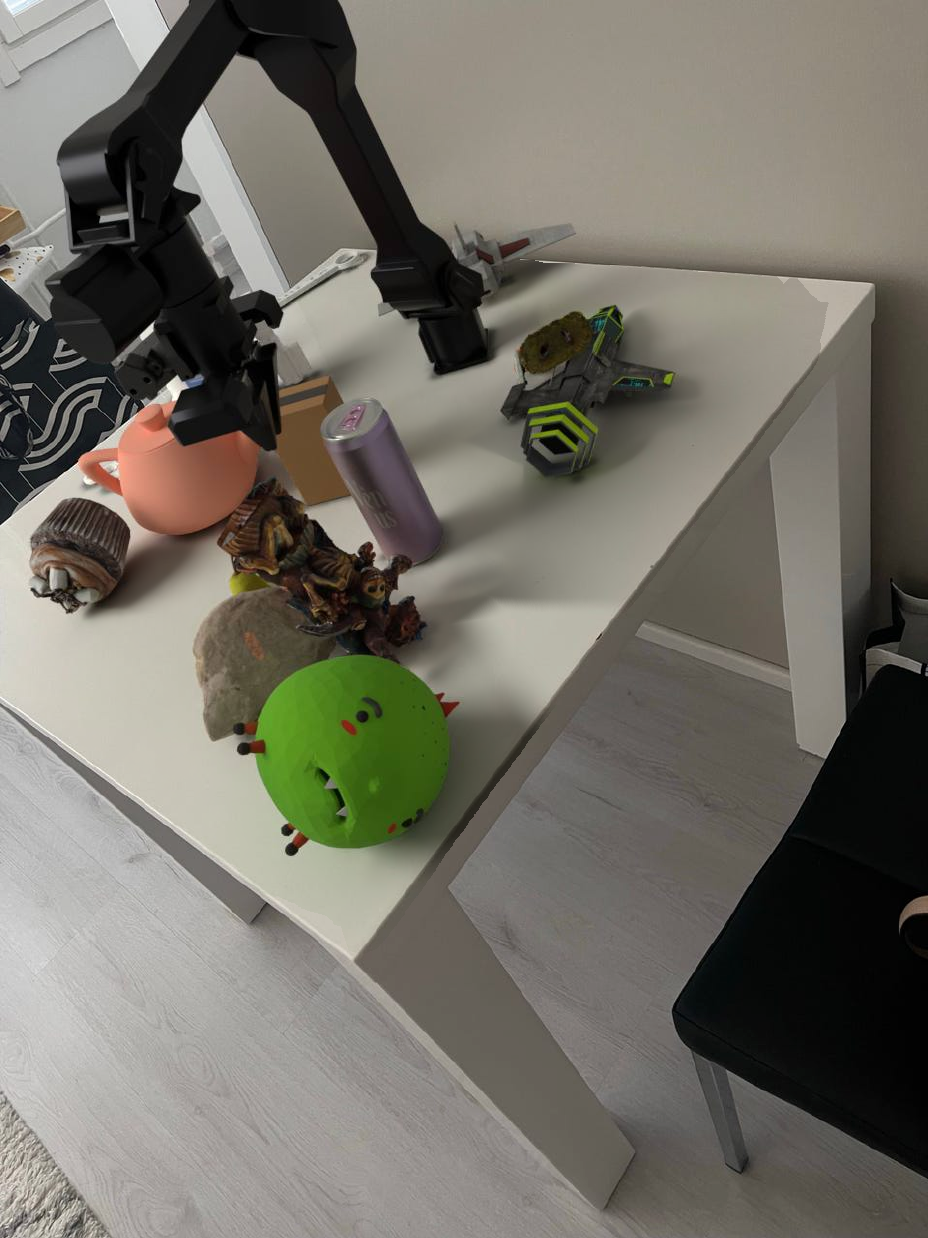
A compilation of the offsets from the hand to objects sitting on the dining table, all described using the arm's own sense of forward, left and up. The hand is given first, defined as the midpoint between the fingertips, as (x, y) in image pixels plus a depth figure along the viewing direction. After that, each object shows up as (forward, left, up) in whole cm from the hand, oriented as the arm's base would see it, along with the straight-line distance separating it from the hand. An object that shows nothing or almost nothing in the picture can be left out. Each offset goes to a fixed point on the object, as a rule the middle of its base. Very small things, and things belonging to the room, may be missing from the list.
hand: (274, 441), depth 87 cm
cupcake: (+26, -5, -6) cm, 27 cm away
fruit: (+2, +14, -12) cm, 19 cm away
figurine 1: (-3, +15, +5) cm, 16 cm away
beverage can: (-10, +5, -12) cm, 16 cm away
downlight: (+25, -38, -12) cm, 47 cm away
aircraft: (-28, -12, -13) cm, 33 cm away
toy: (-1, +31, -6) cm, 32 cm away
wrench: (+13, -54, -11) cm, 57 cm away
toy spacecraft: (-15, -44, -12) cm, 48 cm away
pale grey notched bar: (+10, -34, -2) cm, 35 cm away
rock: (0, +21, -12) cm, 24 cm away
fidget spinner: (+34, -23, -12) cm, 43 cm away
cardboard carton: (0, -9, -12) cm, 15 cm away
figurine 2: (-26, -11, -5) cm, 29 cm away
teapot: (+16, -12, -12) cm, 23 cm away
